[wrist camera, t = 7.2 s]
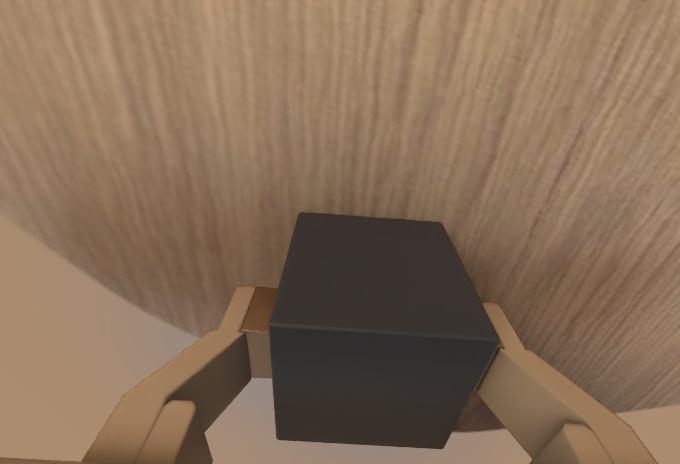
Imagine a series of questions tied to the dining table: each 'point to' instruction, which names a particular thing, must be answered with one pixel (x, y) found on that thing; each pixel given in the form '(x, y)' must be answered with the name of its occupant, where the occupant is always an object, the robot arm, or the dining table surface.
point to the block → (375, 333)
